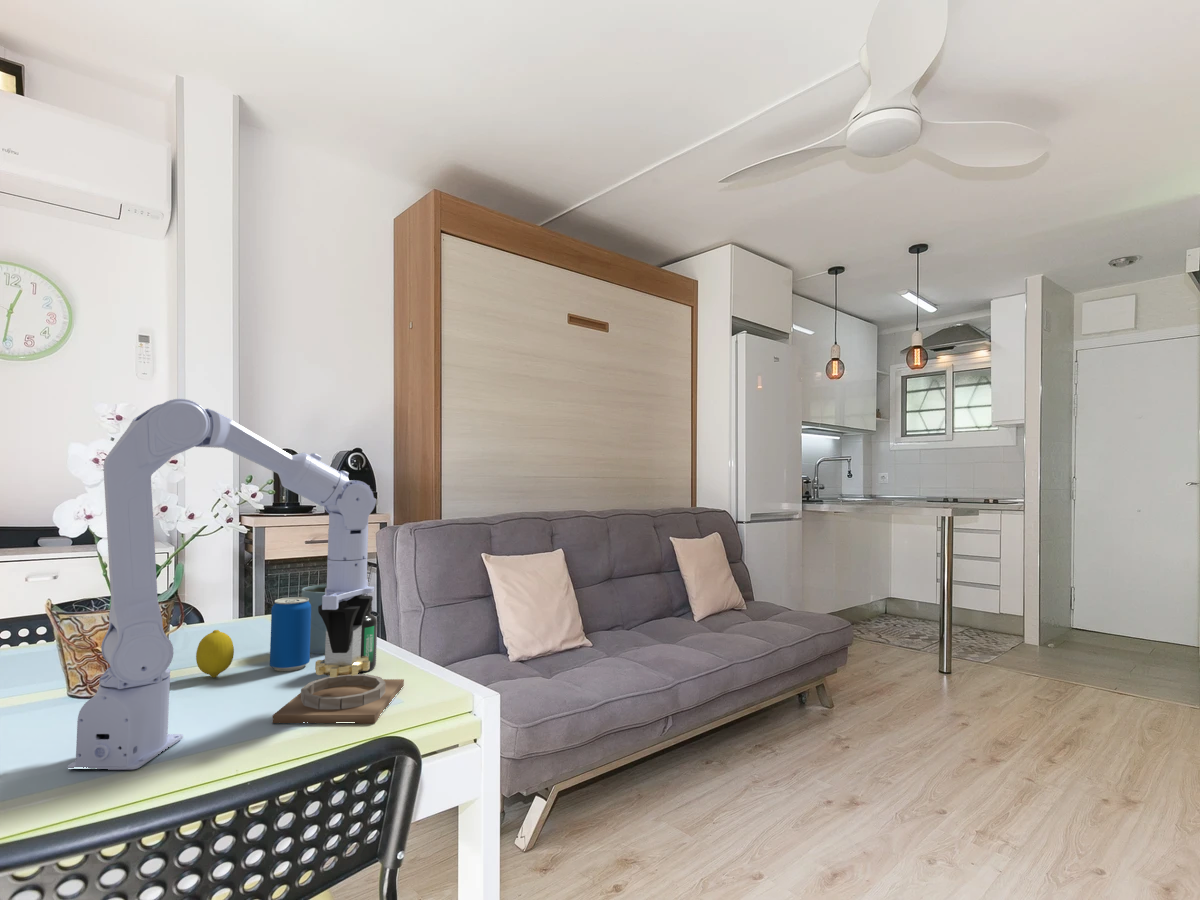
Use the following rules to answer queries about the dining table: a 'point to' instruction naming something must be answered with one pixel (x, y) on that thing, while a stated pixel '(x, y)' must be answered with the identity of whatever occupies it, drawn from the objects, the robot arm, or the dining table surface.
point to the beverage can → (290, 633)
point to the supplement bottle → (369, 638)
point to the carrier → (340, 700)
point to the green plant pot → (316, 618)
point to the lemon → (215, 653)
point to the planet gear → (344, 658)
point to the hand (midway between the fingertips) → (345, 648)
